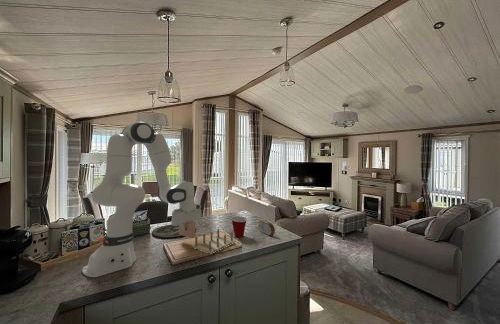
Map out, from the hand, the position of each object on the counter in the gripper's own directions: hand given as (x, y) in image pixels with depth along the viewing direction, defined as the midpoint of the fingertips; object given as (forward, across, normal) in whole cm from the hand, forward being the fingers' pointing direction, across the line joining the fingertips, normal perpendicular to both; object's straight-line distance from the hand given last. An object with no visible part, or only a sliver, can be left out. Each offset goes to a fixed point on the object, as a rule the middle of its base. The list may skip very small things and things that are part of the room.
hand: (187, 229), depth 139 cm
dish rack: (+8, +6, -17) cm, 20 cm away
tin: (+8, +42, -30) cm, 52 cm away
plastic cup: (+8, +28, -18) cm, 34 cm away
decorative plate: (+8, +9, +25) cm, 28 cm away
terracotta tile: (+4, 0, 0) cm, 4 cm away
